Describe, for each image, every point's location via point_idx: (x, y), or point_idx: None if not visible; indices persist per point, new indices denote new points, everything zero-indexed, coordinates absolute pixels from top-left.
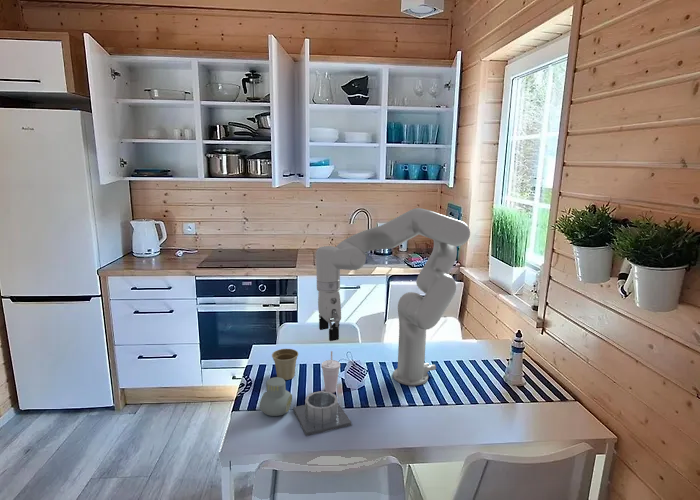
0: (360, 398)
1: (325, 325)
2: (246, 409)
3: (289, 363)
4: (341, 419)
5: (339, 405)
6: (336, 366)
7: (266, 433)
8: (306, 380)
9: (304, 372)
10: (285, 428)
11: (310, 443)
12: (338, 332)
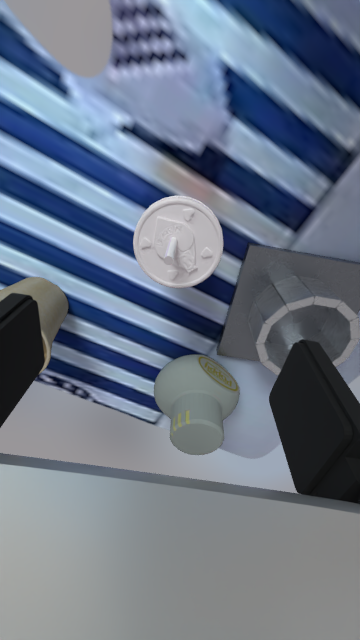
0: (291, 150)
1: (19, 346)
2: (159, 413)
3: (50, 334)
4: (349, 285)
5: (291, 254)
6: (211, 234)
7: (257, 412)
8: (89, 259)
9: (34, 241)
10: (267, 385)
11: (347, 369)
12: (348, 393)
